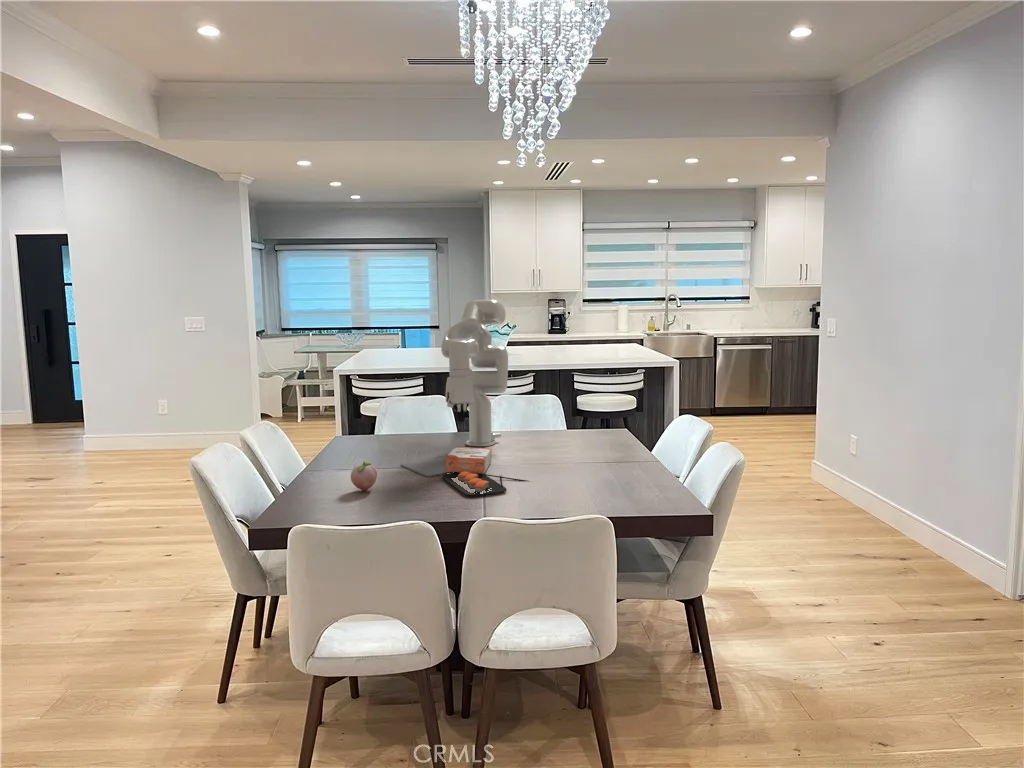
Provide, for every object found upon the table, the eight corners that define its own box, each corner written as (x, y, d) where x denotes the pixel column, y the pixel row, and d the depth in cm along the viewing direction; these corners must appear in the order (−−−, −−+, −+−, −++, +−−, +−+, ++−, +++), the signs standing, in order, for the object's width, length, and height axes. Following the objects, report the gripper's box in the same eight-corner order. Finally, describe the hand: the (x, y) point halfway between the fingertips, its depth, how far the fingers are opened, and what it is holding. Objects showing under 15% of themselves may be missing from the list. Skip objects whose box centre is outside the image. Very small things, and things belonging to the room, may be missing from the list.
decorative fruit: (355, 487, 236) (354, 458, 234) (379, 487, 235) (378, 458, 234) (348, 495, 226) (346, 464, 225) (373, 495, 226) (372, 464, 225)
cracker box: (491, 447, 267) (485, 458, 246) (491, 462, 267) (484, 475, 247) (455, 445, 268) (445, 456, 247) (454, 460, 268) (445, 472, 248)
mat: (451, 457, 278) (451, 456, 278) (480, 468, 260) (480, 466, 260) (400, 465, 265) (400, 464, 265) (427, 477, 247) (427, 475, 247)
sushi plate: (439, 480, 247) (439, 469, 246) (517, 470, 259) (517, 460, 258) (467, 501, 220) (467, 489, 220) (553, 490, 232) (553, 478, 232)
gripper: (471, 371, 271) (472, 418, 273) (437, 373, 262) (438, 422, 264) (481, 372, 265) (482, 420, 267) (447, 375, 256) (448, 425, 258)
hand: (460, 421), depth 266 cm, fingers closed
